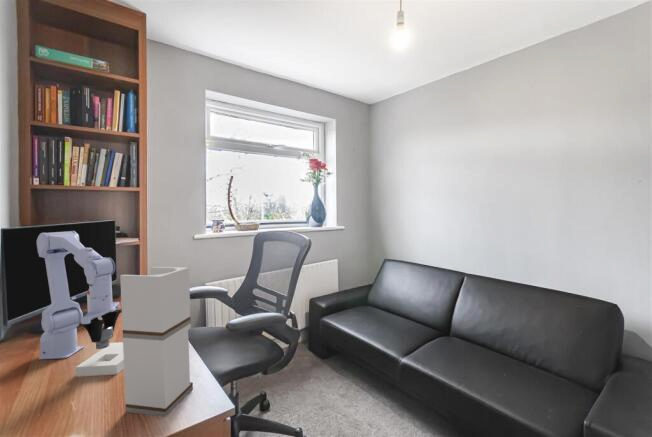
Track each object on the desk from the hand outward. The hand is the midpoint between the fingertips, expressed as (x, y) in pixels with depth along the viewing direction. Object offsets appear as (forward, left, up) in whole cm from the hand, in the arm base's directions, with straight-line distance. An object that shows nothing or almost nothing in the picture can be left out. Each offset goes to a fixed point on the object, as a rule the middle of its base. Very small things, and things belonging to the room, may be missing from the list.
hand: (103, 337), depth 93 cm
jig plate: (+1, +3, -10) cm, 11 cm away
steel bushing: (0, 0, -3) cm, 3 cm away
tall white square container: (+27, -19, -10) cm, 34 cm away
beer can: (-29, +39, -10) cm, 50 cm away
